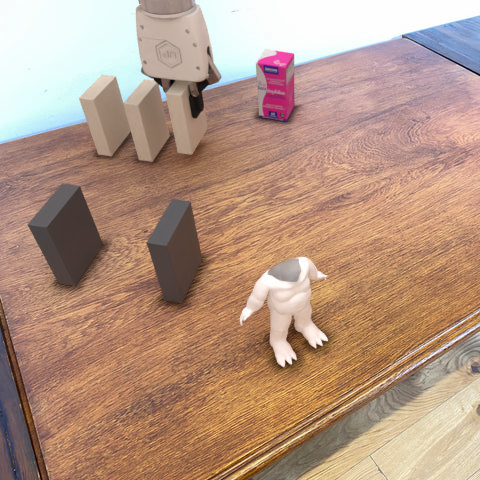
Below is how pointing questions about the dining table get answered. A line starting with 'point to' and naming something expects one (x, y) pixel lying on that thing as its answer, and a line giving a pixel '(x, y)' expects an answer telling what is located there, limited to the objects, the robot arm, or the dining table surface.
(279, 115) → the supplement box
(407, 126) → the dining table surface
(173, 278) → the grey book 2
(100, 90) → the white book
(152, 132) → the white book
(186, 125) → the white book
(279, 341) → the toy creature
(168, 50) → the robot arm
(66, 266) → the dark grey block
